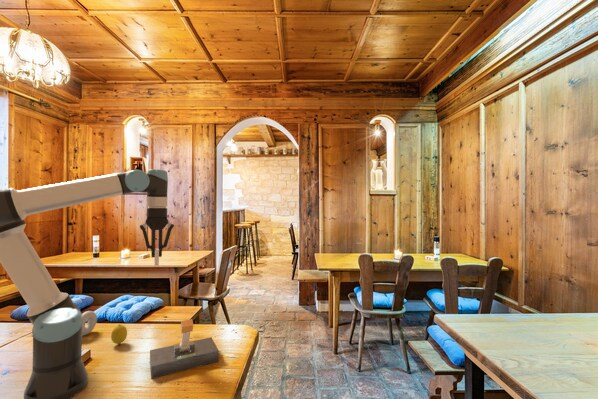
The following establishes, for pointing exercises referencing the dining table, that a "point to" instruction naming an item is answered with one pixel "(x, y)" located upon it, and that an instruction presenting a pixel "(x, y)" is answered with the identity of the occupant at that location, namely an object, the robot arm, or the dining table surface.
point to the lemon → (119, 334)
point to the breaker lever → (186, 333)
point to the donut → (91, 322)
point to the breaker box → (182, 357)
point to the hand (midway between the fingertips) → (156, 265)
